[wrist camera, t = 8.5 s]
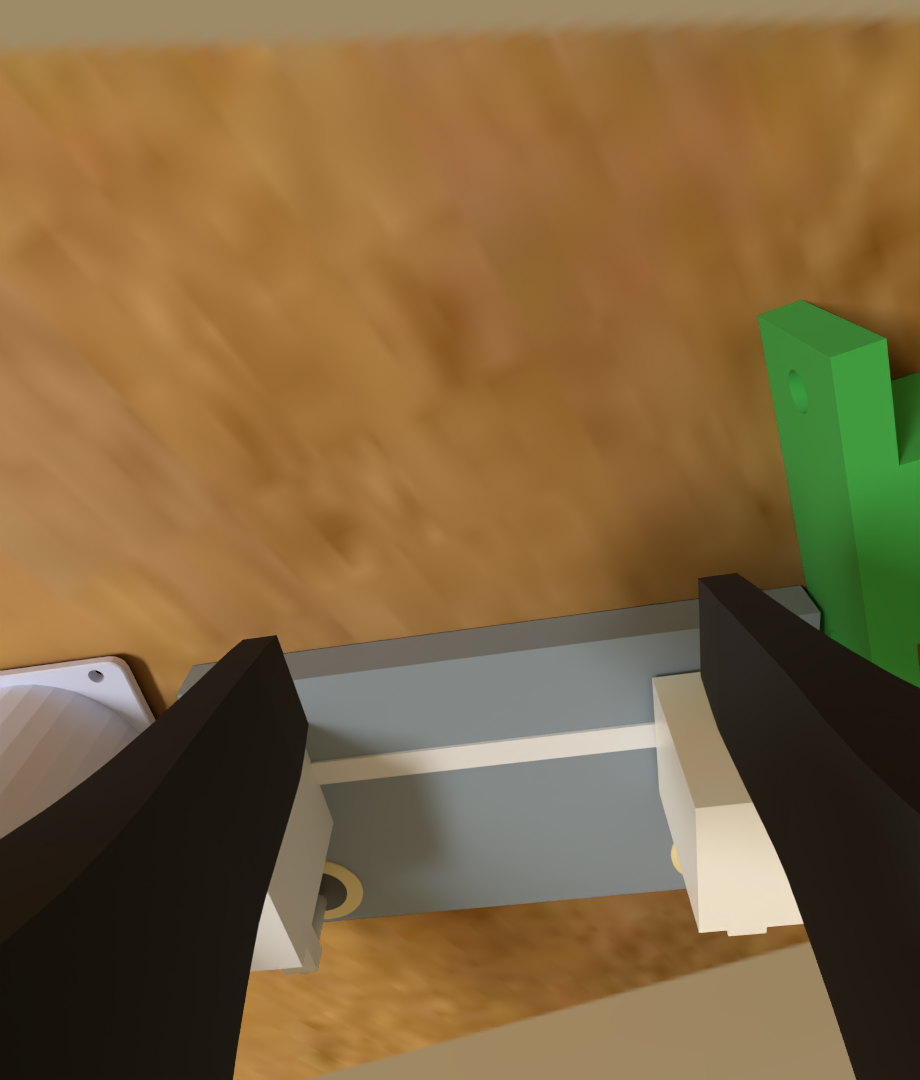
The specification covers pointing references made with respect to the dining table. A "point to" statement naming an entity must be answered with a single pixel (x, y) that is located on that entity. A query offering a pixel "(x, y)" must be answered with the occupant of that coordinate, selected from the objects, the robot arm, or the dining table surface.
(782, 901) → the block
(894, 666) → the pipe clamp
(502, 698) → the plate
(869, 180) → the dining table surface
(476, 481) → the dining table surface
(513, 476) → the dining table surface
